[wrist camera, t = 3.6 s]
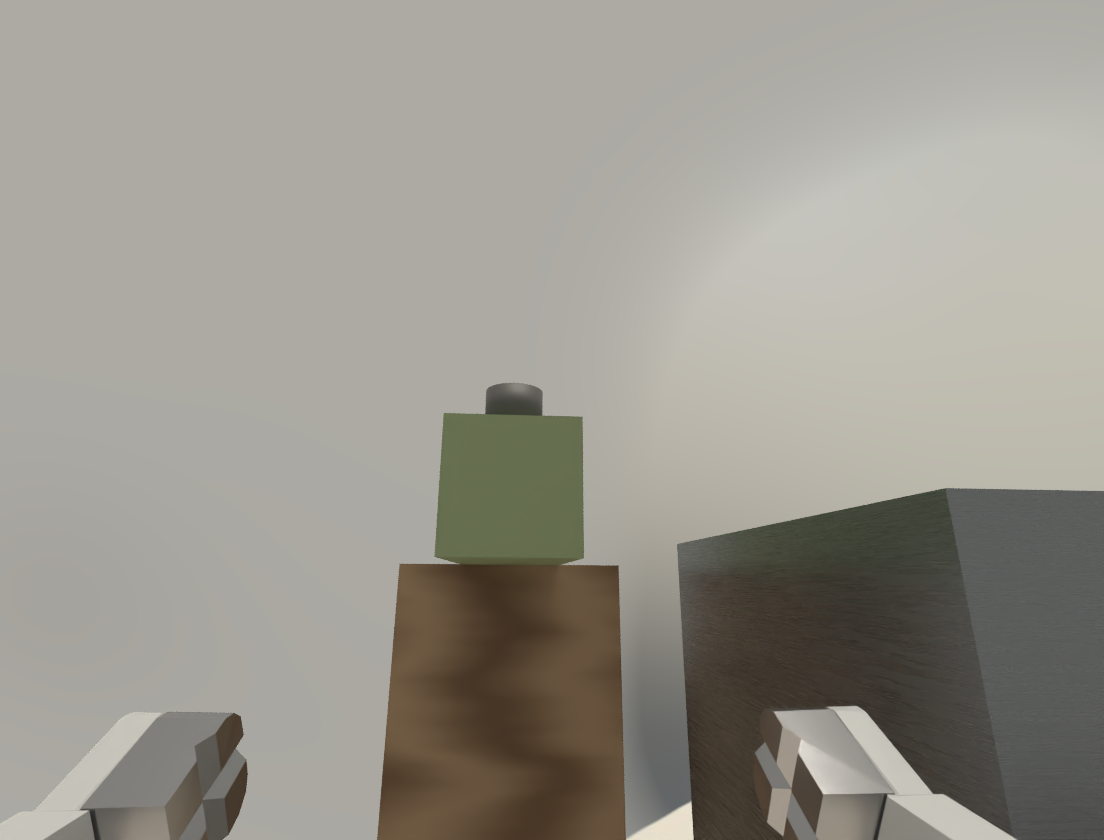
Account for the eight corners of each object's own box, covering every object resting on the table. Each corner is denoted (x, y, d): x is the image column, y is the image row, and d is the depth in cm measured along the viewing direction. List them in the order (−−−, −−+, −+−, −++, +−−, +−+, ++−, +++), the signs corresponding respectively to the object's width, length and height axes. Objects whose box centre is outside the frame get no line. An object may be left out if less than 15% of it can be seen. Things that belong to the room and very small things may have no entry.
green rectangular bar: (434, 556, 15) (446, 373, 16) (477, 568, 33) (481, 482, 34) (584, 558, 15) (581, 378, 16) (544, 569, 33) (544, 483, 35)
